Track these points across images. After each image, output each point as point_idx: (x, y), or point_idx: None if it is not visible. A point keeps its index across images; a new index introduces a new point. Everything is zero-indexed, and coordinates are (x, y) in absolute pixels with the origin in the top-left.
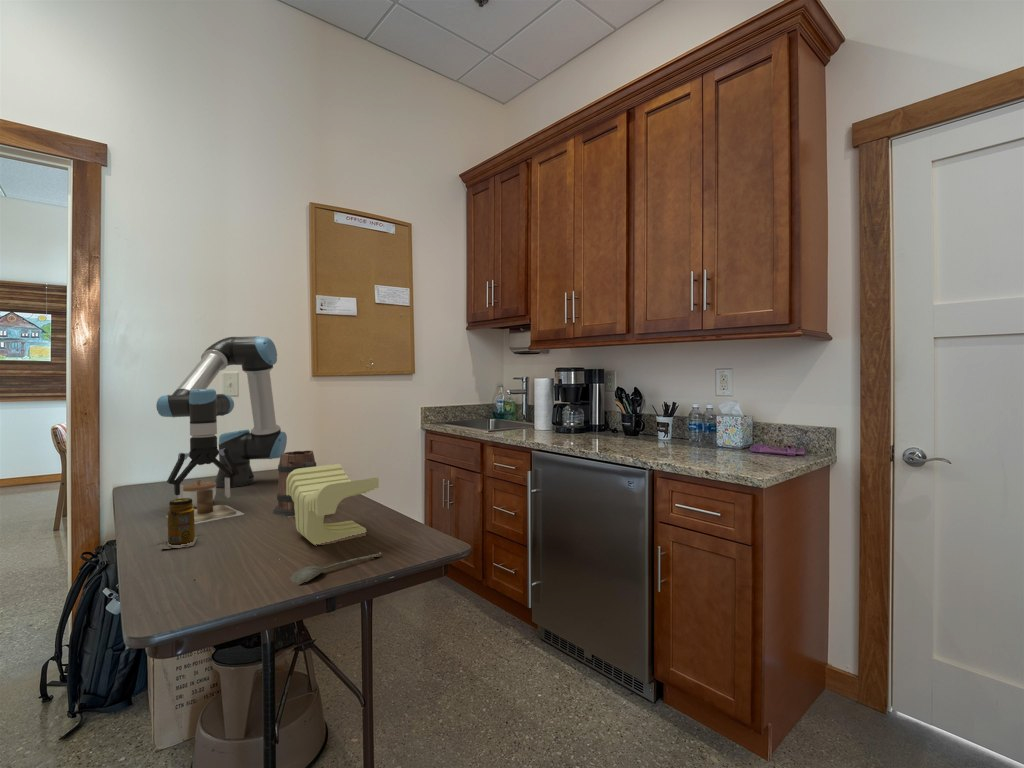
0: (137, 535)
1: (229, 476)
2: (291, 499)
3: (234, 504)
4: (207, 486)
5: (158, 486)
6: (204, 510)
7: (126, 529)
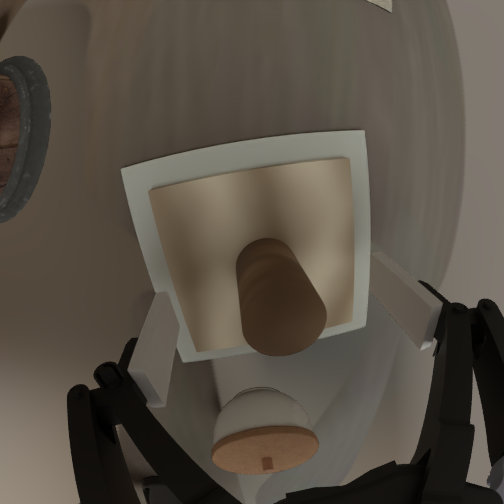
0: (448, 157)
1: (126, 381)
2: None
3: None
4: (244, 438)
5: None
6: (275, 243)
7: (449, 252)
